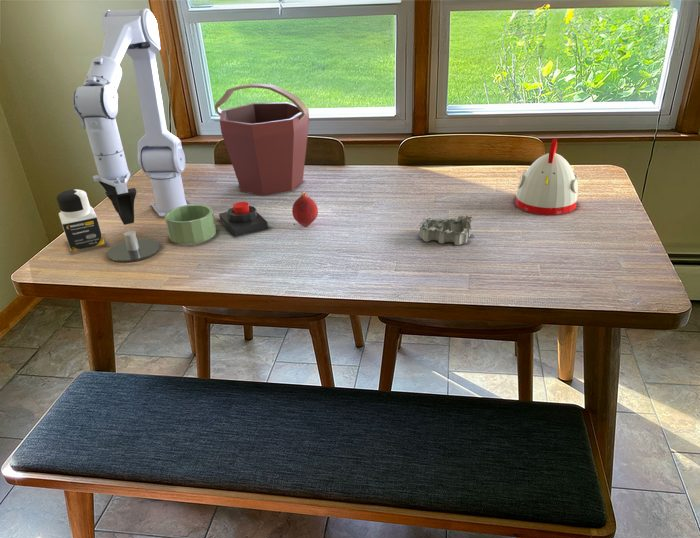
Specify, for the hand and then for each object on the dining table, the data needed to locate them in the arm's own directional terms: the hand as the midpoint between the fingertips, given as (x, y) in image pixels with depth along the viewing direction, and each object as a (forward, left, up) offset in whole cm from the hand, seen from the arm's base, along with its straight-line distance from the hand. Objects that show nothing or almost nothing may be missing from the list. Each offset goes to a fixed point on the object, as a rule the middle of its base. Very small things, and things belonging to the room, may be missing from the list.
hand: (125, 217), depth 128 cm
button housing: (-2, +26, -8) cm, 27 cm away
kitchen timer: (+26, +92, -8) cm, 96 cm away
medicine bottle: (-11, -8, -8) cm, 16 cm away
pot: (-2, +14, -8) cm, 16 cm away
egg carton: (+29, +61, -8) cm, 68 cm away
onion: (+7, +38, -8) cm, 39 cm away
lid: (0, 0, -8) cm, 8 cm away
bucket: (-25, +42, -8) cm, 49 cm away
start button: (-2, +26, -5) cm, 26 cm away
